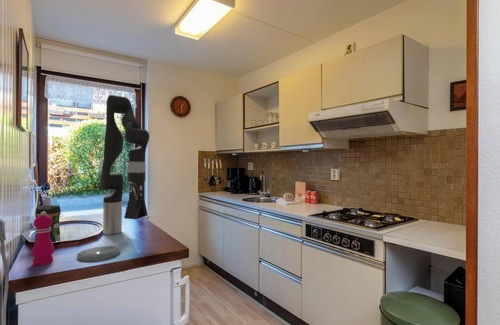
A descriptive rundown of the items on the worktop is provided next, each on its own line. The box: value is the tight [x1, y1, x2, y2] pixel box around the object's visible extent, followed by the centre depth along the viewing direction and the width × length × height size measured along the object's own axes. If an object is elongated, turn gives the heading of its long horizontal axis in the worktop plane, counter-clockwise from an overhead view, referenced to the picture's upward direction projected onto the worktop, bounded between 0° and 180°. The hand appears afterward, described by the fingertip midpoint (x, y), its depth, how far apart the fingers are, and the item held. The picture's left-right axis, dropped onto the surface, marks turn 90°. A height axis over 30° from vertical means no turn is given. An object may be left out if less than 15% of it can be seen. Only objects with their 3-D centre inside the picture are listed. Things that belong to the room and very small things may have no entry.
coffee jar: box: [34, 204, 62, 243], centre depth 130 cm, size 10×8×19 cm
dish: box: [76, 245, 121, 263], centre depth 116 cm, size 16×16×1 cm
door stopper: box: [123, 190, 149, 220], centre depth 128 cm, size 9×6×12 cm, turn 164°
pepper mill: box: [30, 211, 55, 266], centre depth 106 cm, size 7×7×20 cm
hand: (136, 206), depth 128 cm, fingers closed on door stopper, 6 cm apart
